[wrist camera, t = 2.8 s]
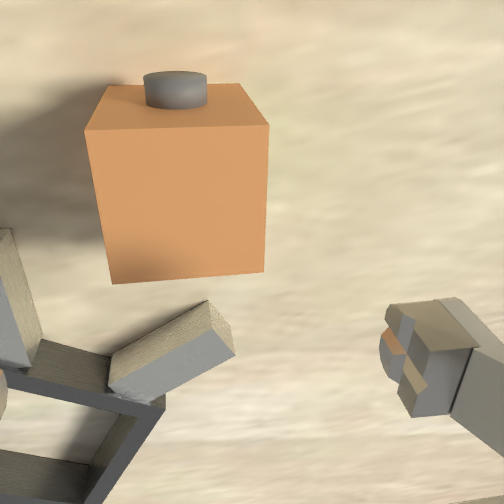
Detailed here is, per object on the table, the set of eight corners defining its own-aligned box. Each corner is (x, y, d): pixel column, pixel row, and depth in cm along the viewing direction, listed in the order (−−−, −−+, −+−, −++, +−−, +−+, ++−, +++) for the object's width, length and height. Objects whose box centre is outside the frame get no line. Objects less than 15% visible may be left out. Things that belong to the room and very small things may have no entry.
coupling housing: (-114, 441, 24) (-140, 486, 22) (-40, 210, 18) (-66, 240, 16) (123, 481, 29) (120, 520, 27) (240, 311, 23) (247, 344, 21)
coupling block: (128, 221, 20) (115, 304, 15) (104, 62, 16) (78, 99, 11) (239, 214, 20) (263, 291, 15) (239, 61, 17) (270, 95, 12)
